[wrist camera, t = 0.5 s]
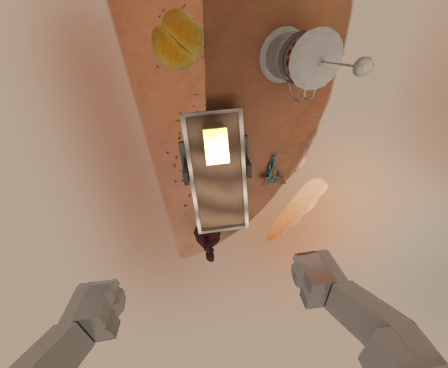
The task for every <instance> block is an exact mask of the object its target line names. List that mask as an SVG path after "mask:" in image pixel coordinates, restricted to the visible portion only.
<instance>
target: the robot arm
mask: <svg viewBox="0 0 448 368" xmlns="http://www.w3.org/2000/svg"><path fill="white" fill-rule="evenodd" d="M293 260H294V262H295V263H294V264H292V269H291V270H292V277H293V280H294V283H295V285H296V286H297V287H298V288H300V289H301V291H300V297H301V299H302V301H303V304H304V306H305V308H306V309H311V308H319V307H324V308H325V309H326V310H327V311H328V312H329V313H330V314H331V315H332V316H333V317H335V318H336V319H337V320H338V321H339V322H340V323H341V324H342V325H343V326H344V327H345V328H346V329H347V330H348V331H350V332H351V333H352V334H353V335H354V336H355V337H356V338H357V339H358V340H359V341H360V342H361V343H362V344H364V345H365V347H364V348H363V350H362V351H361V353H360V354H359V357H358V360H359V361H360V364H361V366H362V367H363V368H448V363H447V362H446V361H445V360H444V358H443V357H442V356H441V355H440V353H439V352H438V351H437V350H436V348H435V347H434V346H433V345H432V343H431V342H430V341H429V340H428V338H427V337H426V336H425V335H424V333H423V332H422V331H421V330H420V328H419V327H418V326H417V325H416V323H415V322H414V321H413V320H411V319H410V318H408V317H406V316H405V315H403V314H402V313H400V312H399V311H397V310H396V309H394V308H393V307H391V306H390V305H388V304H387V303H385V302H384V301H382V300H380V299H379V298H378V297H376V296H375V295H373V294H371V293H370V292H368V291H367V290H365V289H364V288H362V287H361V286H359V285H358V284H356V283H355V282H353V281H348V279H347V278H346V277H345V275H344V273H343V272H342V270H341V269H340V267H339V266H338V264H337V263H336V262H335V260H334V259H333V257H332V256H331V254H330V253H329V251H328V250H319V251H310V252H305V253H298V254H295V255H294V256H293ZM125 299H126V297H125V292H124V290H123V289H122V288H120V287H119V281H118V280H117V279H113V280H106V281H98V282H88V283H82V284H79V285H78V286H77V287H76V289H75V291H74V293H73V295H72V297H71V299H70V301H69V303H68V305H67V307H66V309H65V311H64V313H63V315H62V317H61V319H60V321H59V323H58V324H56V325H53V326H52V327H51V328H50V329H49V330H48V331H47V332H46V333H45V334H44V335H43V336H42V337H41V338H40V339H39V340H38V341H37V342H35V343H34V344H33V345H32V346H31V347H30V348H29V349H28V350H27V351H26V352H25V353H24V354H23V355H22V356H21V357H20V358H18V359H17V360H16V361H15V362H14V363H13V364H12V365H11V366H10V367H9V368H78V366H79V365H80V364H81V362H82V361H83V360H84V358H85V357H86V356H87V354H88V353H89V352H90V350H91V349H92V348H93V346H94V345H95V342H101V341H106V340H112V339H116V336H117V332H118V328H119V325H120V319H119V315H120V314H121V313H122V312H123V310H124V307H125Z"/></svg>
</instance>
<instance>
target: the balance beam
mask: <svg viewBox="0 0 448 368" xmlns="http://www.w3.org/2000/svg"><path fill="white" fill-rule="evenodd" d="M180 118H181V124H182V131H183V137H184V144H185V150H186V157H187V163H188V170H189V176H190V183H191V189H192V196H193V202H194V209H195V215H196V222H197V228H198V234H205V233H213V232H221V231H228V230H236V229H244V228H249V219H248V200H247V182H246V163H245V144H244V125H243V108H233V109H222V110H212V111H201V112H191V113H181V114H180ZM214 124H224V125H225V126H226V127H227V134H228V146H229V159H230V163H225V164H216V165H207V163H206V155H205V147H204V138H203V130H202V126H204V125H214Z"/></svg>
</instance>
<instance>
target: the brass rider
mask: <svg viewBox="0 0 448 368" xmlns="http://www.w3.org/2000/svg"><path fill="white" fill-rule="evenodd" d="M202 130H203V138H204V147H205V155H206V163H207V165H216V164H225V163H230V159H229V146H228V134H227V127H226V126H225V125H224V124H214V125H204V126H202Z"/></svg>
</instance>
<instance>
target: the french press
mask: <svg viewBox="0 0 448 368" xmlns="http://www.w3.org/2000/svg"><path fill="white" fill-rule="evenodd" d="M342 58H343V42H342V40H341V38H340V36H339V34H338V33H337V32H336V31H334V30H333V29H331V28H330V27H316V28H314V29H311V30H309V31H308V30H304V31H300V30H298V29H296V28H295V27H293V26H282V27H280V28H278V29H276V30H274V31H273V32H272V33H271V34H270V35H269V36H268V37H267V38H266V39H265V41H264V43H263V46H262V48H261V50H260V66H261V69H262V72H263V74H264V75H265V76H266V77H267V79H269V80H271V81H273V82H275V83H285V82H288V83H289V88H290V93H291V96H292V97H293V99H294V100H295V101H297V102H301V101H302V100H303V98H304V99H306V100H310V99H311V98H312V97H313V96H314V94H315V91H316V89H318V88H321V87H323V86H325V85H326V84H327V83H328V82H329V81H330V80H332V79H333V78H334V76H335V74H336V73H337V71H338V70H339V68H340V66H341V65H343V66H350V67H353V73H354V75H355V76H366V75H367V74H368V73H370V72H371V71H372V68H373V66H374V63H373V60H372V58H370V57H361V58H359V59H358V60H357V61H356V62H355V64H354V65H349V64H342V63H341V62H342ZM290 80H291V81H290ZM290 83H295V85H296V86H298V89H299V93H300V95H301V96H302V99H301V100H299V101H298V100H297V99H295V98H294V96H293V94H292V91H291V87H290ZM299 87H300V88H302V89H304V90H305V92H304V96H303V95H302V94H301V91H300V88H299ZM306 90H314V93H313V94H312V96H311V97H310V98H308V99H307V98H305V94H306Z"/></svg>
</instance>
